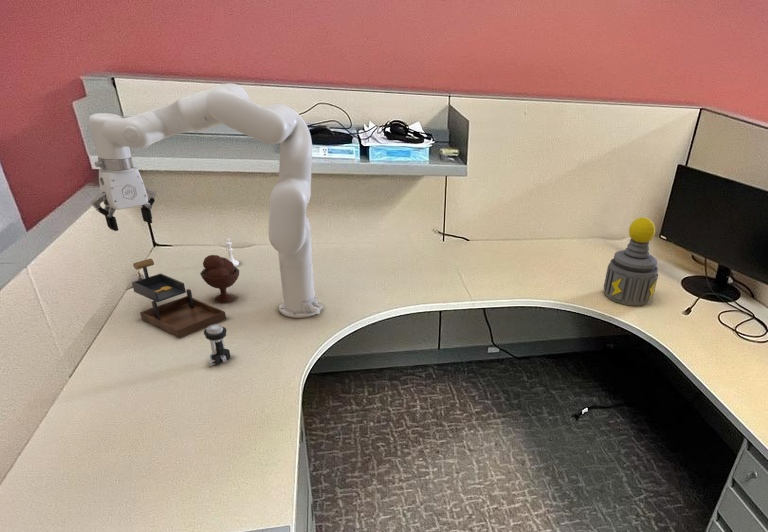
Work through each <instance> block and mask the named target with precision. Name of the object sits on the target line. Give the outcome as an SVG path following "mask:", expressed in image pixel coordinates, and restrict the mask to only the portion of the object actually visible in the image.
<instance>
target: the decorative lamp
mask: <svg viewBox="0 0 768 532" xmlns="http://www.w3.org/2000/svg"><path fill="white" fill-rule="evenodd" d="M655 234H656V226H655V224H654V222H653V221H652V220H651V219H650V218H648V217H644V216H643V217H638V218H636V219H634V220H633V221H632V222H631V224H630V225H629V229H628V235H629V237H630V239H629V242H628V244H627V245H626V248H625V249H622V250H618V251H615V253H614V255H613V258H612V259H610V262H609V263H608V265H607V269H606V273H605V279H604V283H603V290H604V291H603V293H604V295H605V296H606V297H607V298H608V299H609V300H610V301H613V302H615V303H617V304H621V305H625V306H629V307H630V306H633V307H639V306H644V305H647V304H649V303H650V302H651V300H652V299H653V297H654V294H655V292H656V286H657V282H658V278H659V273H658V272H659V268H658V259H657V258H656V257H655V256H653V255H651V254H650V252H649V251H650V247H649V245H650V241H652V240H653V238H654V237H655Z"/></svg>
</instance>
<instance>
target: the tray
mask: <svg viewBox="0 0 768 532" xmlns="http://www.w3.org/2000/svg"><path fill="white" fill-rule="evenodd" d="M185 290H186V296H184V297H180V298H177V299H174V300H171V301H168V302H165V303H163V304H160V305H158V302H156V301H153V300H151V305H152V308H148V309H146V310H143V311H140V312H139V315H140V318H141V321H143V322H145V323H147V324H150V325H151V326H154V327H156V328H158V329H160V330H162V331H164V332H166V333H168V334H170V335H172V336H174V337H177V338H178V339H182V338H184V337H187V336H188V335H191V334H193V333H196V332H198V331H201V330H203V329H207V327H208V326H210V325H214V324H218V323H220V322H223V321H226V320H227V315H226V311H224V310H222V309H219V308H217V307H215V306H213V305H211V304H208V303H206V302H203V301H201V300H199V299H197V298H194V297H193V293H192V290H191V289H190V288H186V289H185Z"/></svg>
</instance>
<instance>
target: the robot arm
mask: <svg viewBox="0 0 768 532" xmlns="http://www.w3.org/2000/svg"><path fill="white" fill-rule="evenodd" d="M88 122H89V127H90V131H91V134H92V140H93V143H94V146H95V151H96V155H97V161H94V162H93V163H94V164H93V165H94V166H95V167H96V168H100V169H98V181H99V182H98V183H99V191H100V194H99V195H98V196H96V197H95V198H94V199H92V200H91V201H90V205H91V206H92V207H93V208H94V209H95V211H96V212H98V213H100V214H102V216H104V217H105V221H106V225H107V227H108V228H109V230H111V231H114V232H118V231H119V227H118V221H117V218H116V216H114V214H115V212H116V210H117V211H119V210H125V209H131V208H136V207H140V212H141V216H142V221H143V222H146V223H148V224H153V220H152V219H153V215H152V211H151V210H152V208H153V205H154V203H155V201H156V200H155V199H156V196H157V192H156V190H153V189H150V188H146V187H145V183H144V180H143V178H142V176H141V173H140V171H139V169H138V167H136V166H135V165H134V162H133V158H132V153H131V149H137V150H138V149H139V150H140V149H145V148H147V147H150V146H151V145H153V144H155V143H157V142H159V141H161V140H165V139H168V138H171V137H173V136H177V135H179V134H183V133H187V132H193V133H198V132H202V131H205V130H208V129H211V128H214V127H217V126H220V125H224V126H226V127H228V128H230V129H232V130H235V131H237V132H238V133H241V134H243V135H245V136H247V137H250V138H253V139H255V140H256V141H259V142H262V143H264V144H267V145H278V144H280V145H279V146H280V148H279V161H278V162H279V170H278V179H277V182H276V183H275V185H274V186H273V188H272V190H271V192H270V196H269V204H268V206H269V207H268V240H269V243H270V244H271V246H272V247H273V249H274V250H275V251H277V253H278V264H279V273H280V281H281V290H282V291H281V293H282V300H283V302H281V303H280V304H279V306H278V310H279V313H280V314H281V315H282V316H285V317H288V318H293V319H303V318H304V319H305V318H309V317H312V316H315V315H319V314H320V313H321V310H323V308H324V305H323V304H321V303H320V301H318V297H316V294H315V293H316V291H315V280H314V268H313V267H314V266H313V251H312V226H311V223H310V220H309V218H308V216H307V208H308V205H309V203H310V200H311V197H312V170H313V166H312V165H313V164H312V163H313V141H312V135H311V132H310V129H309V127H308V125H307V123H306V121H305V120H304V119H303V118H302V116H301V115H300V114H299V113H298V112H297V111H296V110H295V109H293V108H291V107H290V106H288V105H286V104H283V103H272V104H269V105H267V106H264V105H261V104H259V103H257V102H255V101H252V100H251V99H250V96H249V94H248V93H247V91H246V90H245V89H244V88H243V87H242V86H241V85H238V84H236V83H232V82H229V83H228V82H227V83H223V84H220V85H217V86H214V87H211V88H208V89H205V90H201V91H198V92H195V93H191V94H188V95H186V96H183V97H180V98H178V99H177V100H175V101H173V102H171V103H167V104H164V105H162V106H159V107H157V108H152V109H150V110H145V111H143V112H140V113H138V114H134V115H132V116H128V117H121V116H120V115H118V114H115V113H109V112H98V113H93V114H90V115H89V117H88ZM130 148H131V149H130ZM102 203H103V205H104V208H103V206H101V204H102Z"/></svg>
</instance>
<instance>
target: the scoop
mask: <svg viewBox="0 0 768 532" xmlns="http://www.w3.org/2000/svg"><path fill="white" fill-rule="evenodd" d="M154 265H155V262H154V259H152V258H147V259H143V260H140V261H137V262H134V263H133V264H132V266H133V268H134V270H137V271H138V270H141V269H142V271H143V275H144V278H140V279H138V280H135V281H132V282H131V285H132V289H133V292H134V293H136V294H138V295H140V296H142V297H144V298H147V299H149V300H151V301H156V302H157V303H159V302H162V301H166V300H169V299H172V298H174V297H177V296H181V295H184V294H187V292H186V290H187V289H186V286H185V283H184V282H182V281H180V280H177V279H175V278H173V277H171V276H168V275H166V274H163V273H157V274H154V275H151V276H149V275H150V274H149V272H148V271H149V270H148V267H151V266H152V267H153V266H154ZM165 286H169V287H171V288H172V289H170V290H167V291H164V290H163V291H161V292H158V293H157V292H156V290H160V288H162V287H165Z"/></svg>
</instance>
